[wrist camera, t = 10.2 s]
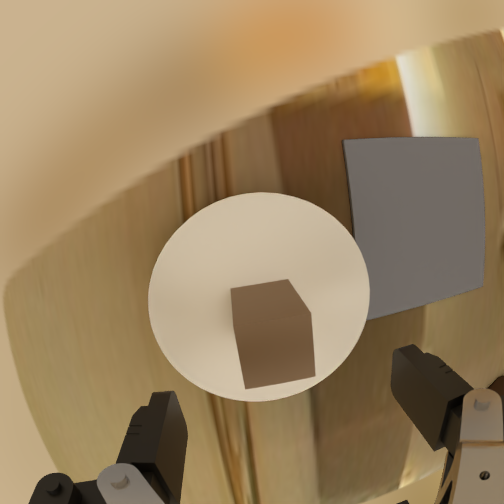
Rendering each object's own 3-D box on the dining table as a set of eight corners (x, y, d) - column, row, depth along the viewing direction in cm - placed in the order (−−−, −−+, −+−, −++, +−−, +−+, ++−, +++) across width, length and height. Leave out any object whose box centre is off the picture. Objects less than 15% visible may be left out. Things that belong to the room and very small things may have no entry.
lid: (355, 179, 18) (408, 179, 12) (363, 370, 21) (400, 421, 15) (131, 212, 17) (90, 226, 11) (179, 403, 20) (169, 466, 14)
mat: (475, 138, 24) (478, 138, 24) (480, 285, 27) (482, 286, 27) (341, 140, 23) (343, 139, 23) (357, 320, 26) (359, 322, 26)
